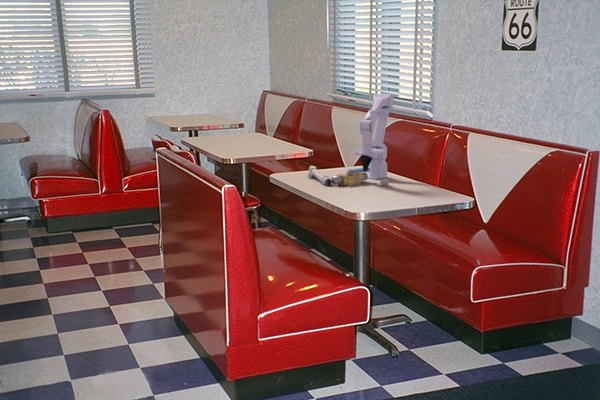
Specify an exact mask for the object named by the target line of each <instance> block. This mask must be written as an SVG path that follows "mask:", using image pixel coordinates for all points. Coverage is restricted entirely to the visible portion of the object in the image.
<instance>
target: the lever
mask: <svg viewBox="0 0 600 400" xmlns="http://www.w3.org/2000/svg"><path fill="white" fill-rule="evenodd" d="M369 172H370V168H369V167H368V171H364V170H363V167H357V168H350V169H346V173H347V175H353V173H369Z"/></svg>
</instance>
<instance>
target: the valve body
mask: <svg viewBox="0 0 600 400" xmlns="http://www.w3.org/2000/svg"><path fill="white" fill-rule="evenodd" d="M368 176H369V174H368V172H362V173H353V175H347V172H346V173H340V174H336V176H333V177H331V178H330V180H331V181H332V184H331V185H333V186H337V185H342V186H348V185H349V186H355V185H354V184H356V185H361V183H363V181H367V180H368V179H369V178H368Z"/></svg>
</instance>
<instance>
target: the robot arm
mask: <svg viewBox="0 0 600 400" xmlns="http://www.w3.org/2000/svg"><path fill="white" fill-rule="evenodd" d="M394 104H395V97H394V95H393V93H390V94H389V93H377V92H376V93H374V94H373V96H372V107H371V109H369V110H368V111H367V113H366V115H365V116H364V119H362V120H360V122H359V133H360V150H354V155H355V156H359V160H360V163H361V164H362V168H363V170H364V171H368V168H370V172H368V178H367V179H371V180H372V179H373V180H381V179H388V178H389V177H388V162H386V159H387V157H388V147H387V145H385V143H384V139H385V134H386V129H387V125H388V124H387V123H388V118H389V115H390V113H391V112H393V108H394ZM376 122H377V123H376ZM374 131H375V132H374ZM373 134H374V135H373ZM373 136H374V137H373Z"/></svg>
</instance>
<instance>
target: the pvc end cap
mask: <svg viewBox="0 0 600 400" xmlns="http://www.w3.org/2000/svg"><path fill="white" fill-rule="evenodd" d="M389 183H390V180H389V179H388V178H381V179H380V185H379V186H381V187H389V186H390V185H389Z"/></svg>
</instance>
